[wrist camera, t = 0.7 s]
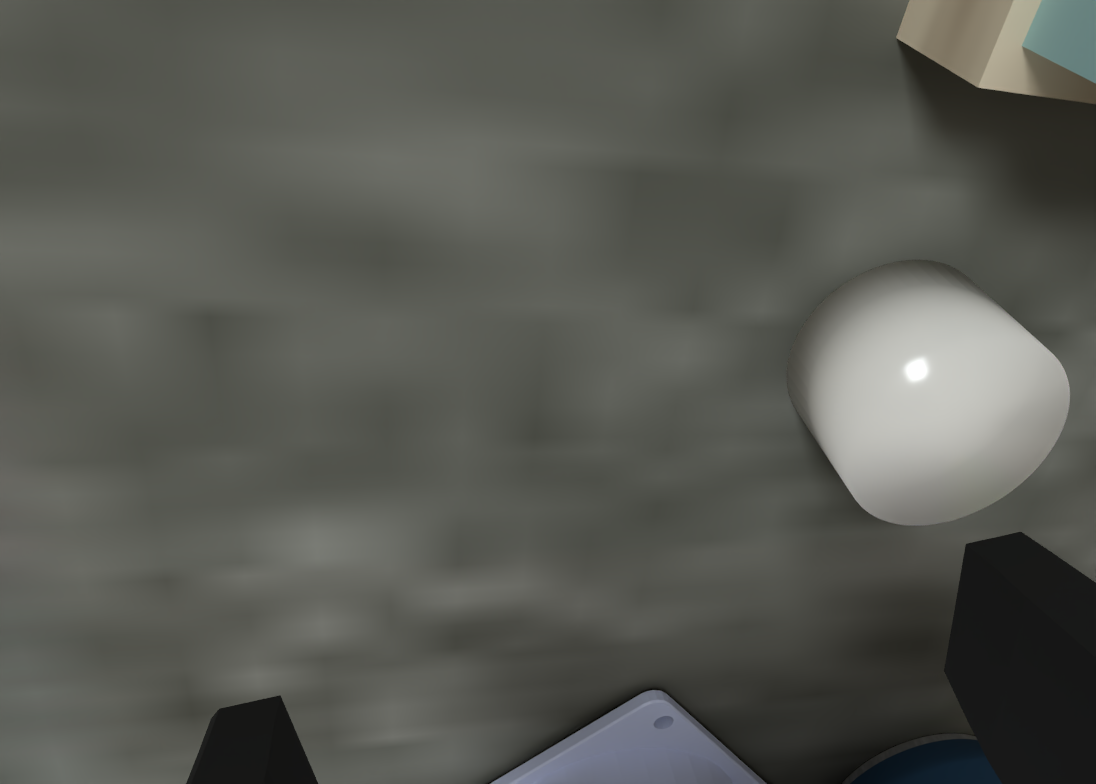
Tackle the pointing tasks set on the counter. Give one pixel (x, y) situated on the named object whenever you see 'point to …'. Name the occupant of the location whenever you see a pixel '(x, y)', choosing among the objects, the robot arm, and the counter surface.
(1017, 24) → the beech block
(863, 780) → the soda can
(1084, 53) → the teal block
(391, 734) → the counter surface
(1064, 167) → the counter surface
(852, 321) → the stoneware puck
